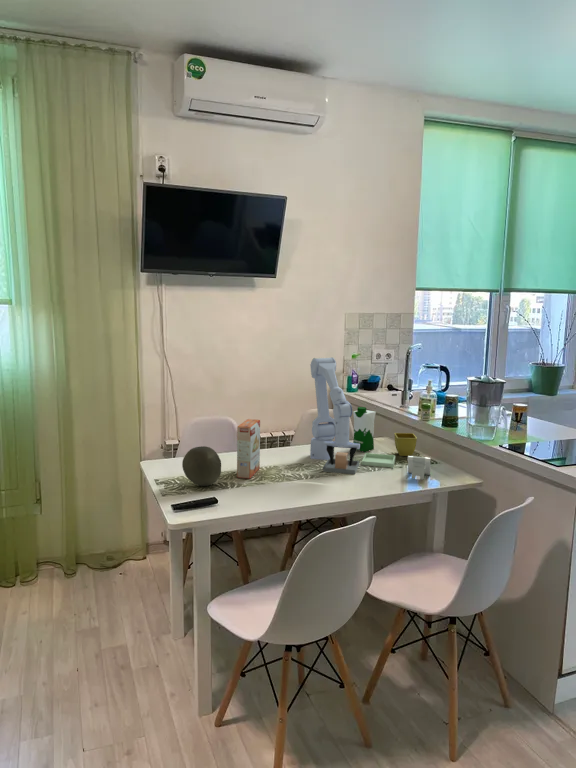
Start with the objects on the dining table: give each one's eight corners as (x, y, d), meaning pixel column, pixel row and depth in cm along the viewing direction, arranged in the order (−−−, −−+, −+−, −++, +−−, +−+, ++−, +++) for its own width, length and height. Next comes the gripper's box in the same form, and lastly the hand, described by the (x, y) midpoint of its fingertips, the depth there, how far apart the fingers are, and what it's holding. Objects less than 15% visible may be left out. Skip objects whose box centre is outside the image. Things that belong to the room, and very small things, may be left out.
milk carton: (350, 449, 267) (351, 407, 264) (361, 445, 273) (362, 404, 270) (365, 453, 261) (366, 409, 258) (377, 449, 268) (378, 407, 264)
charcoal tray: (322, 472, 232) (322, 467, 232) (328, 463, 245) (328, 458, 244) (354, 475, 229) (355, 470, 229) (359, 466, 242) (359, 461, 241)
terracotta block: (335, 469, 235) (335, 454, 234) (336, 465, 240) (337, 452, 239) (346, 470, 234) (346, 455, 233) (347, 466, 238) (348, 452, 237)
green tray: (361, 466, 241) (361, 461, 241) (365, 457, 254) (365, 452, 253) (393, 468, 238) (393, 463, 238) (395, 460, 251) (395, 455, 250)
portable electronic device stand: (430, 474, 232) (431, 454, 230) (428, 480, 224) (429, 459, 223) (408, 472, 234) (409, 452, 233) (406, 478, 227) (407, 457, 226)
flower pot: (416, 457, 254) (417, 438, 253) (396, 457, 254) (397, 437, 253) (412, 452, 263) (413, 433, 262) (393, 452, 263) (394, 432, 262)
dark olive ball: (201, 477, 226) (201, 440, 223) (229, 484, 218) (228, 446, 215) (175, 487, 214) (174, 448, 212) (203, 495, 206) (202, 454, 204)
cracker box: (251, 479, 224) (251, 426, 220) (236, 478, 225) (236, 426, 222) (260, 468, 237) (260, 419, 234) (246, 467, 239) (246, 418, 235)
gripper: (322, 433, 232) (322, 466, 235) (358, 436, 229) (357, 468, 231) (326, 429, 239) (325, 461, 241) (360, 431, 236) (360, 463, 238)
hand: (341, 464), depth 237 cm, fingers open, 7 cm apart
